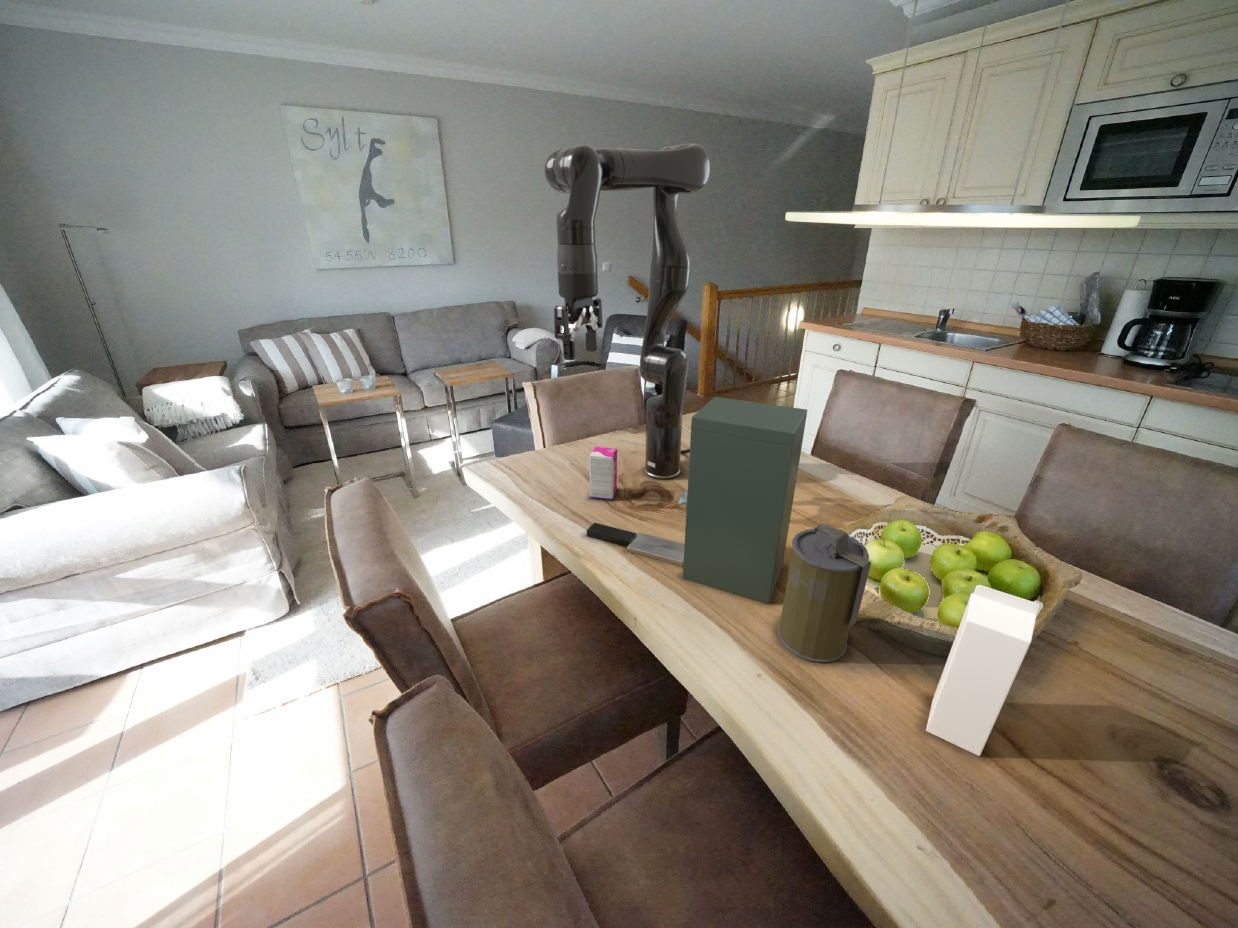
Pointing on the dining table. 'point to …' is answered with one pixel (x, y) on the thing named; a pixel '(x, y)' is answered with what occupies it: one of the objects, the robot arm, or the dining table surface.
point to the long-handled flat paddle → (640, 543)
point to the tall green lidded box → (741, 494)
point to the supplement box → (603, 473)
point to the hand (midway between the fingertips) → (580, 355)
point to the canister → (822, 593)
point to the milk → (981, 667)
